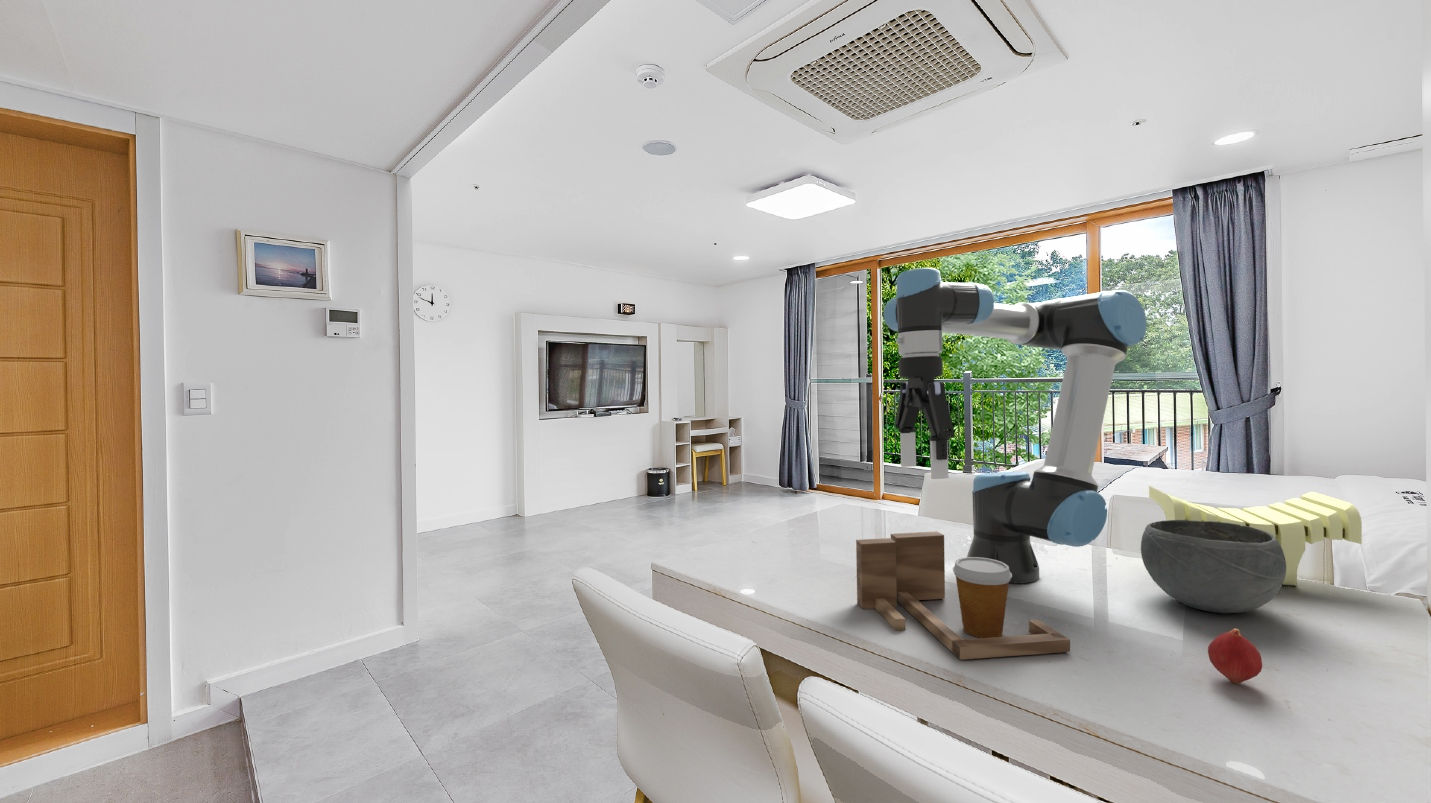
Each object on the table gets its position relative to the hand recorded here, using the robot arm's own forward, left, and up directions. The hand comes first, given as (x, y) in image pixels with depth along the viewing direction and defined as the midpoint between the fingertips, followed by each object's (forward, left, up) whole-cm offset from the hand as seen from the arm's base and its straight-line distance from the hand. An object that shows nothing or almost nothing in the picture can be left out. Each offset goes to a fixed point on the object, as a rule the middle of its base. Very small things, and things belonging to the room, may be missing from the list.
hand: (923, 472), depth 104 cm
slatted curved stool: (-79, -13, -28) cm, 85 cm away
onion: (-34, +26, -28) cm, 51 cm away
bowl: (-56, +1, -28) cm, 63 cm away
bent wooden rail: (-8, +1, -28) cm, 29 cm away
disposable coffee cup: (-8, +5, -28) cm, 30 cm away
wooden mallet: (+6, -4, -28) cm, 29 cm away
